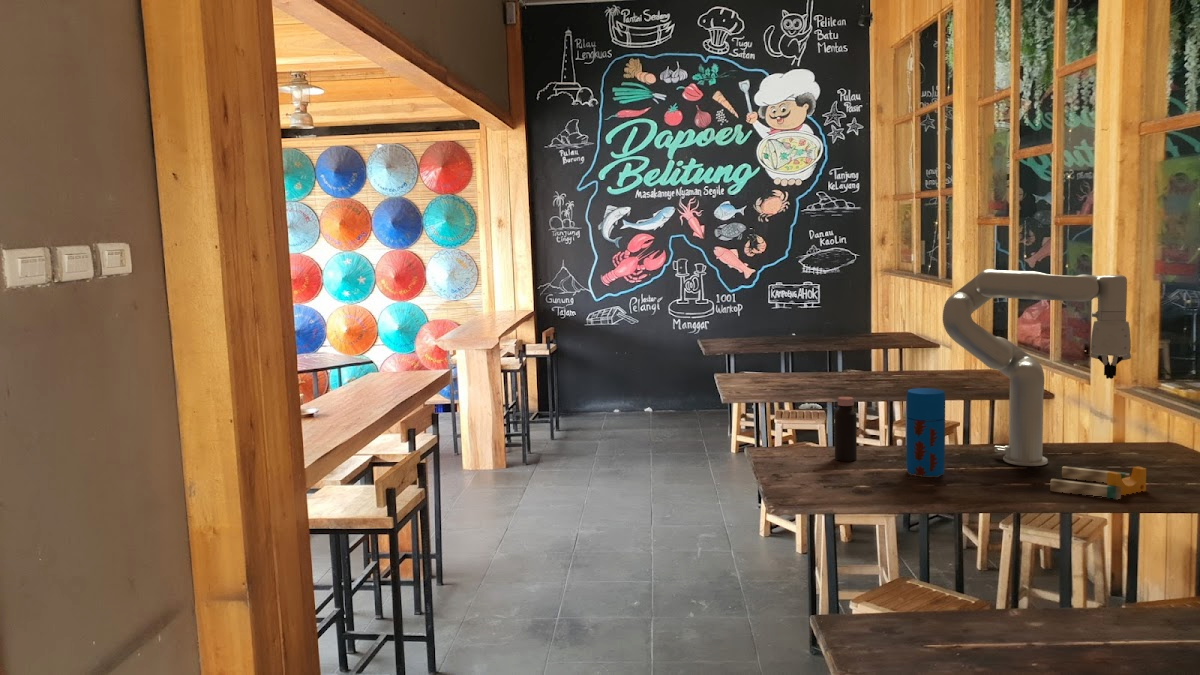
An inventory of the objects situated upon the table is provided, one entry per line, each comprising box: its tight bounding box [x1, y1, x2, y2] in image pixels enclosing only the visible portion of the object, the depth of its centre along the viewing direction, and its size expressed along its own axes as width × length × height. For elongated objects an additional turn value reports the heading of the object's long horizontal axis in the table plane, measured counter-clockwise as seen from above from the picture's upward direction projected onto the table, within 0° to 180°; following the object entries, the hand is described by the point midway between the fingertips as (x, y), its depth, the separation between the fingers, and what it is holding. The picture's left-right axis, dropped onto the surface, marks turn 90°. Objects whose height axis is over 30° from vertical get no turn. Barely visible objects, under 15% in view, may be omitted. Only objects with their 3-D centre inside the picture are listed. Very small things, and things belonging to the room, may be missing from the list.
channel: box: [1049, 465, 1131, 500], centre depth 263 cm, size 17×18×3 cm
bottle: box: [834, 396, 858, 462], centre depth 302 cm, size 7×7×20 cm
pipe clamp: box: [1106, 466, 1147, 496], centre depth 257 cm, size 12×4×6 cm, turn 114°
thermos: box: [906, 387, 946, 476], centre depth 282 cm, size 11×11×25 cm
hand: (1109, 378), depth 281 cm, fingers closed
